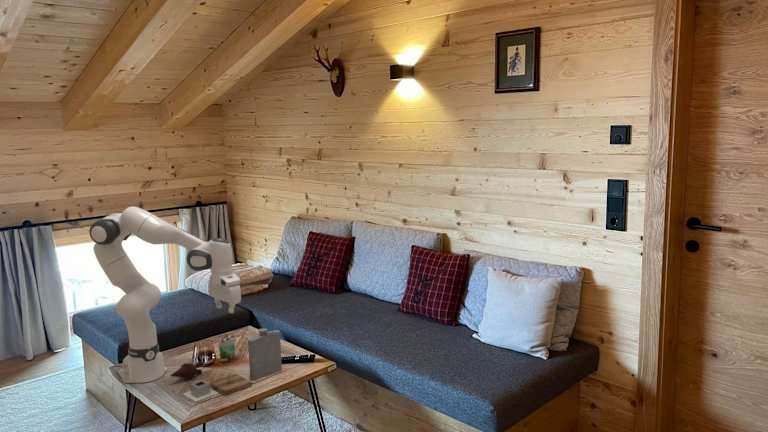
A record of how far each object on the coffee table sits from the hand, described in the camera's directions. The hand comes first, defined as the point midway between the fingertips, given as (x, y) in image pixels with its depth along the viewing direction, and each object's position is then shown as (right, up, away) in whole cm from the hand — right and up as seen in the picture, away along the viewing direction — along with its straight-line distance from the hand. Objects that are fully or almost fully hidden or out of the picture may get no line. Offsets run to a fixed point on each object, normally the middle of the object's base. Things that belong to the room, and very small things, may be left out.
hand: (225, 310), depth 248 cm
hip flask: (+14, -29, +12) cm, 35 cm away
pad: (-8, -33, -7) cm, 34 cm away
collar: (-8, -32, -7) cm, 34 cm away
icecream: (-18, -31, +9) cm, 37 cm away
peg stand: (+2, -31, 0) cm, 31 cm away
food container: (-6, -27, +30) cm, 41 cm away
